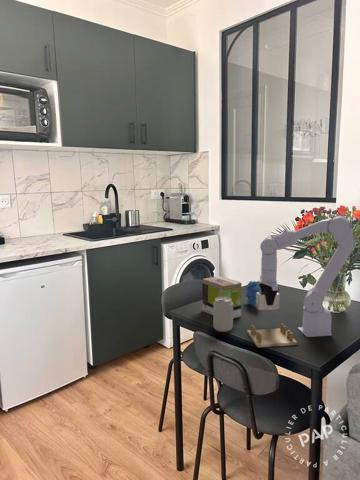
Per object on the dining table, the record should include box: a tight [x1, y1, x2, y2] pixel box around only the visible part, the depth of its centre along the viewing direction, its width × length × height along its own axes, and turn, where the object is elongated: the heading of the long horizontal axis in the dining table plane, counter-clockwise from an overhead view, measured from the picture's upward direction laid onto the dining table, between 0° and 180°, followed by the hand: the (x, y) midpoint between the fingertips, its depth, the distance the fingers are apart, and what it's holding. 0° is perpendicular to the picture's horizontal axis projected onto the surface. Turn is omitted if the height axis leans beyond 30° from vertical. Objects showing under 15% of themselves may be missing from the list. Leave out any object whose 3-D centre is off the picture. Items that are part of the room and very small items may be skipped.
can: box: [212, 297, 234, 333], centre depth 135 cm, size 8×8×12 cm
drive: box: [255, 292, 280, 311], centre depth 138 cm, size 8×4×6 cm, turn 96°
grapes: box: [244, 280, 261, 307], centre depth 160 cm, size 12×7×12 cm, turn 16°
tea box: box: [202, 275, 242, 319], centre depth 151 cm, size 15×10×15 cm, turn 32°
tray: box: [246, 323, 298, 348], centre depth 127 cm, size 14×12×4 cm
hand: (268, 303), depth 138 cm, fingers closed on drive, 3 cm apart
